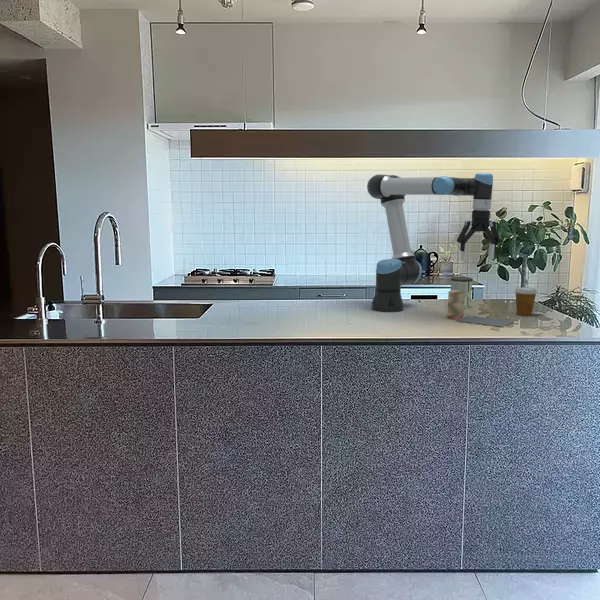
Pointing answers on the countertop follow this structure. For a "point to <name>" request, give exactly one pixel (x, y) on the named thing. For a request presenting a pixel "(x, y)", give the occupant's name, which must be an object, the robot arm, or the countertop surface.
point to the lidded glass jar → (463, 288)
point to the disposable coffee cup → (525, 300)
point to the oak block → (456, 304)
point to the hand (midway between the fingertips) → (477, 259)
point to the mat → (485, 321)
